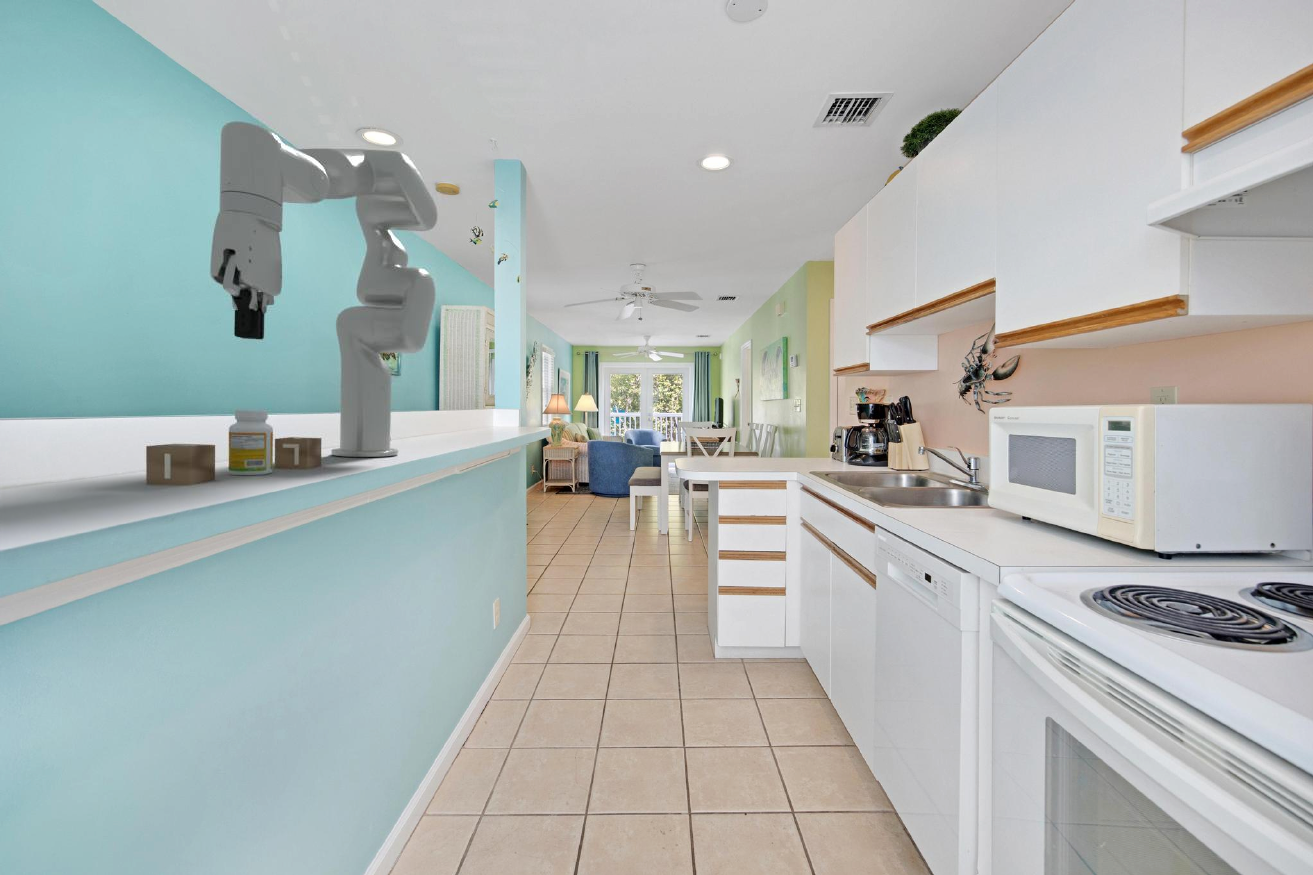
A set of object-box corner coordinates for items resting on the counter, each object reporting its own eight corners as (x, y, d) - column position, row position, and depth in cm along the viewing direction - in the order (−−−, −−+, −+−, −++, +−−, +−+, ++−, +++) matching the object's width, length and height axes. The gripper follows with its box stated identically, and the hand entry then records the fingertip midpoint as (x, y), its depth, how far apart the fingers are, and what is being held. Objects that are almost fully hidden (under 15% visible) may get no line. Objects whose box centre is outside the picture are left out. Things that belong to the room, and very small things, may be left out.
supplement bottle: (247, 471, 86) (248, 409, 85) (281, 472, 86) (281, 410, 85) (219, 474, 81) (219, 409, 80) (254, 476, 80) (255, 410, 80)
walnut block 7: (290, 465, 95) (290, 436, 95) (321, 466, 96) (321, 437, 96) (274, 468, 90) (274, 438, 90) (306, 469, 91) (307, 439, 91)
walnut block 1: (174, 479, 75) (174, 443, 75) (215, 480, 76) (215, 444, 75) (145, 485, 70) (145, 445, 70) (188, 485, 71) (188, 446, 70)
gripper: (253, 229, 88) (251, 343, 88) (188, 191, 73) (185, 328, 74) (304, 233, 89) (301, 346, 90) (249, 196, 74) (246, 331, 75)
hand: (249, 337), depth 82 cm, fingers closed
